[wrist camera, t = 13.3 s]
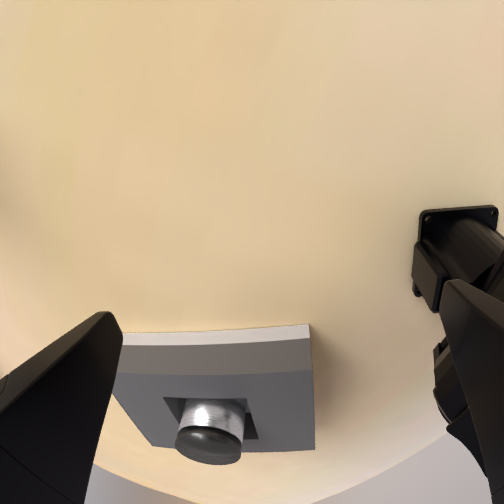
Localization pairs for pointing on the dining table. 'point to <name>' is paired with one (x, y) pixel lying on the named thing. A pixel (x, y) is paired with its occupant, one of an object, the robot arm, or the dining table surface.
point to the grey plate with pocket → (221, 382)
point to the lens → (212, 430)
